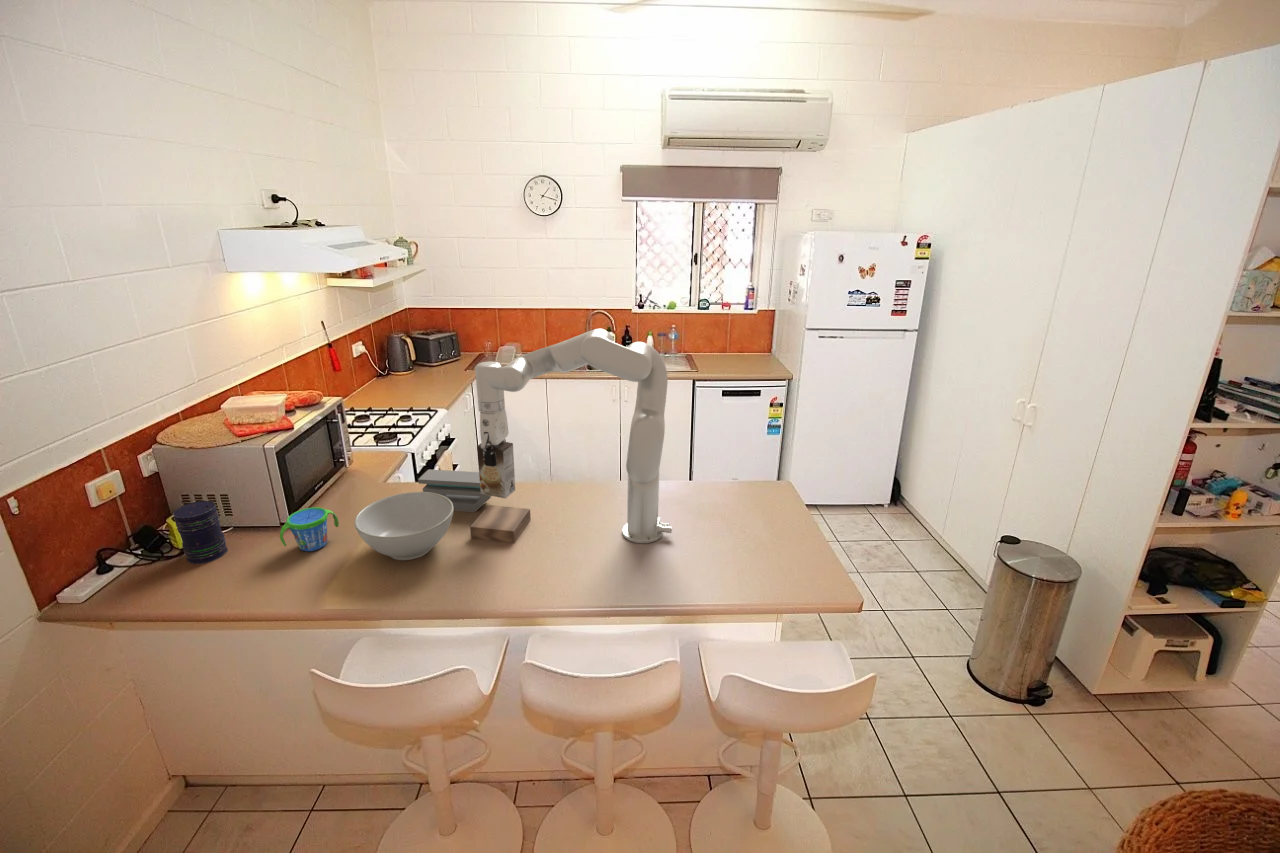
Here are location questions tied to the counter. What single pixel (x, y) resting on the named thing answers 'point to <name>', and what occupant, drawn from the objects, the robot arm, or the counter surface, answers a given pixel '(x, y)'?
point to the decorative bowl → (405, 523)
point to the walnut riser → (500, 523)
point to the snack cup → (309, 528)
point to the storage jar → (200, 532)
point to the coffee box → (497, 471)
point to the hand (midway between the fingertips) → (495, 460)
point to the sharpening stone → (456, 488)
